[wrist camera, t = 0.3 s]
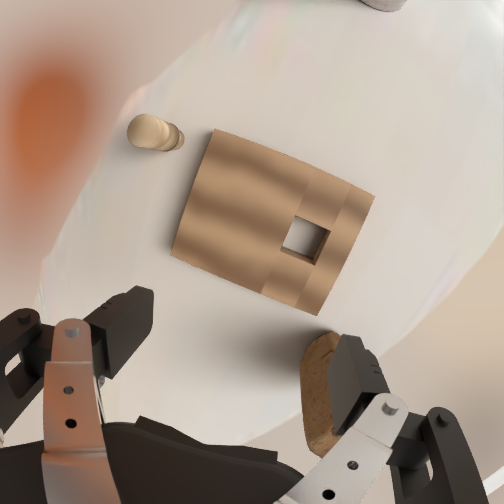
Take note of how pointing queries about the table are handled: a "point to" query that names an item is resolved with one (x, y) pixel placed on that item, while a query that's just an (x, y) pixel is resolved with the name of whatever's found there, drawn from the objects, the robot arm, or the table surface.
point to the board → (268, 221)
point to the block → (318, 394)
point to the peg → (154, 133)
